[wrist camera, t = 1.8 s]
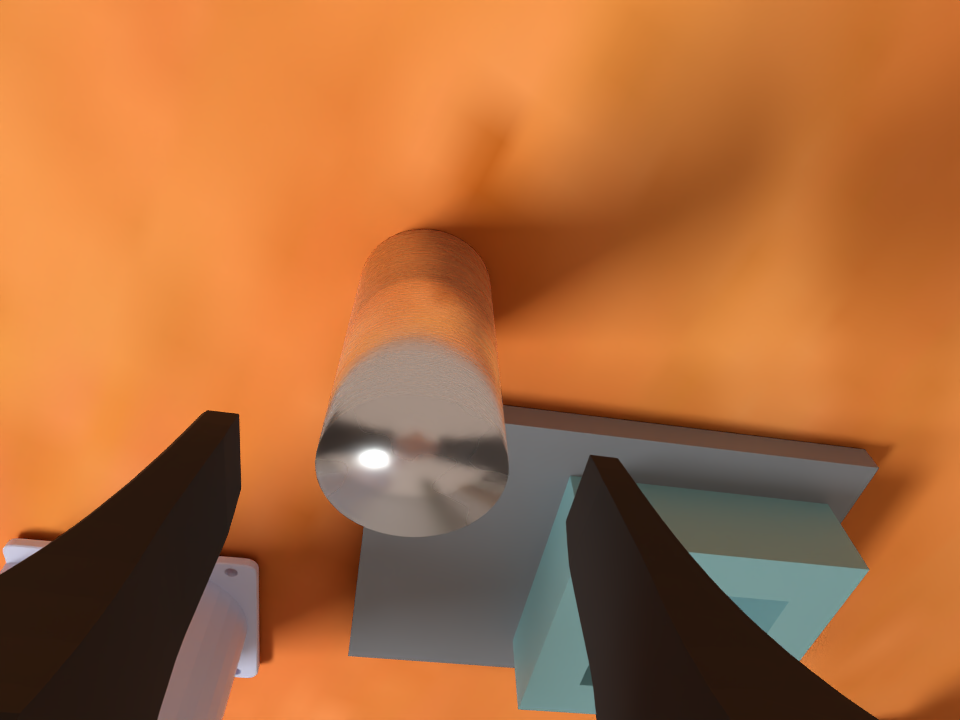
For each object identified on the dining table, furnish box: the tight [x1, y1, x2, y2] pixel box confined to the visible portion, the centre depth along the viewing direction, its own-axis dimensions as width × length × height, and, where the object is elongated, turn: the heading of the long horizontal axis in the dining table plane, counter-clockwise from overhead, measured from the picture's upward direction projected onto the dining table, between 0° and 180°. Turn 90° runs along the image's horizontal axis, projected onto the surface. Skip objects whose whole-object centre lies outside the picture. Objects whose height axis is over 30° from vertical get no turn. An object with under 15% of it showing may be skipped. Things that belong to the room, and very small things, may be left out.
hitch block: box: [348, 405, 879, 714], centre depth 26 cm, size 18×14×4 cm
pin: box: [315, 229, 509, 537], centre depth 17 cm, size 4×4×8 cm
